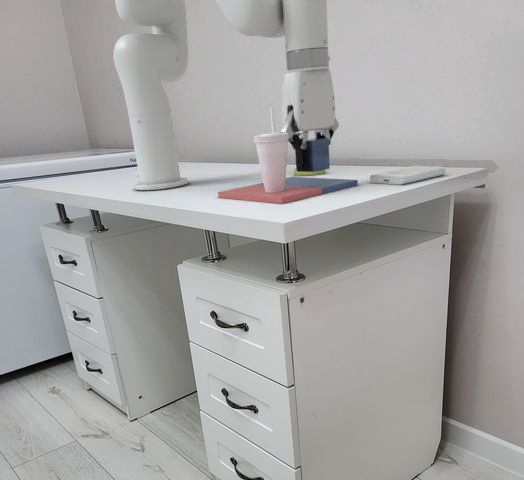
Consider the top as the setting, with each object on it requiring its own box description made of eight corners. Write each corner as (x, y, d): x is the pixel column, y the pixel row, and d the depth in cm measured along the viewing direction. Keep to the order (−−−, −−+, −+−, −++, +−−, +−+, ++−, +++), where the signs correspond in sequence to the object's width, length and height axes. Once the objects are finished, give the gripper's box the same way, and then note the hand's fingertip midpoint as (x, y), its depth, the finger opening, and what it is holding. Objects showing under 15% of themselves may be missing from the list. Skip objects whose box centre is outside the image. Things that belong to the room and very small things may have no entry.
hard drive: (445, 175, 105) (402, 185, 99) (411, 173, 111) (369, 182, 105) (445, 166, 104) (403, 175, 98) (411, 165, 110) (369, 173, 104)
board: (218, 197, 104) (217, 192, 104) (292, 181, 116) (291, 176, 115) (282, 203, 92) (281, 197, 91) (357, 185, 103) (357, 179, 103)
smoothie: (281, 193, 95) (275, 107, 89) (251, 193, 98) (243, 110, 92) (298, 187, 100) (294, 105, 94) (269, 187, 103) (262, 108, 97)
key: (320, 168, 134) (320, 159, 133) (326, 174, 122) (326, 164, 122) (291, 171, 134) (291, 162, 133) (295, 177, 123) (294, 167, 122)
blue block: (296, 171, 104) (294, 141, 102) (312, 168, 107) (311, 138, 104) (313, 172, 101) (312, 140, 99) (329, 168, 103) (328, 138, 101)
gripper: (324, 64, 104) (328, 163, 111) (258, 66, 94) (267, 175, 101) (354, 59, 98) (356, 163, 106) (288, 61, 89) (295, 176, 96)
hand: (313, 168), depth 104 cm, fingers closed on blue block, 4 cm apart
